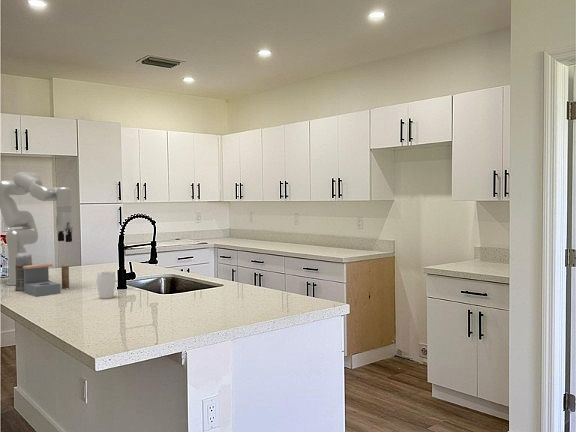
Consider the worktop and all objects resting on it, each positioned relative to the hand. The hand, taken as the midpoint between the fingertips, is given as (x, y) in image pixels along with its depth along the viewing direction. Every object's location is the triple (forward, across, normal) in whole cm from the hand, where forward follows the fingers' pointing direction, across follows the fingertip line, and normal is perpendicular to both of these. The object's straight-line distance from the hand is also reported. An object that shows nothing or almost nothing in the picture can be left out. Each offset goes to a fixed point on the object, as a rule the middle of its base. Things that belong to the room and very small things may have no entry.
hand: (64, 241), depth 279 cm
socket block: (+26, +4, -14) cm, 30 cm away
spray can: (+26, -13, -17) cm, 33 cm away
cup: (+26, +39, +3) cm, 47 cm away
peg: (+26, -1, 0) cm, 26 cm away
